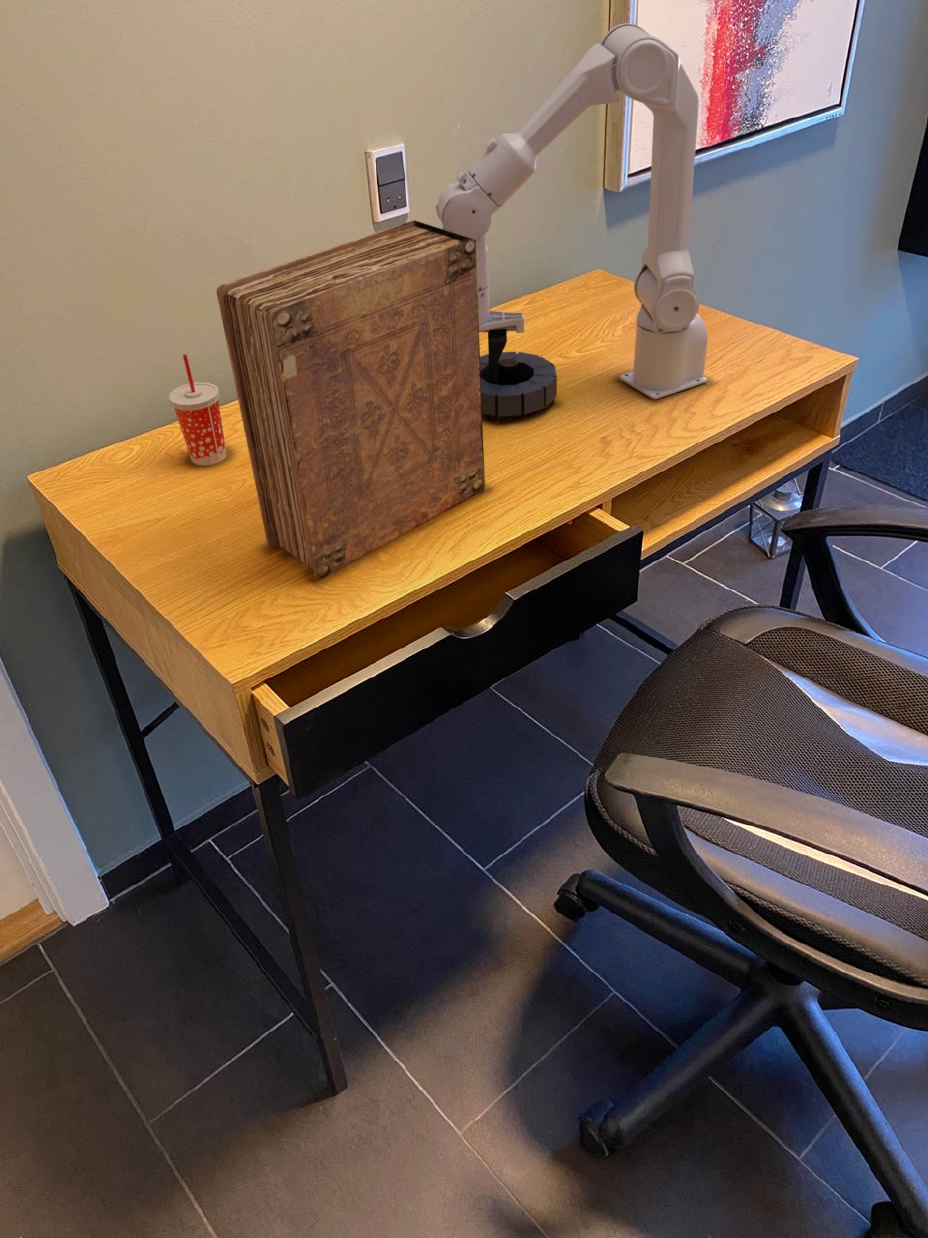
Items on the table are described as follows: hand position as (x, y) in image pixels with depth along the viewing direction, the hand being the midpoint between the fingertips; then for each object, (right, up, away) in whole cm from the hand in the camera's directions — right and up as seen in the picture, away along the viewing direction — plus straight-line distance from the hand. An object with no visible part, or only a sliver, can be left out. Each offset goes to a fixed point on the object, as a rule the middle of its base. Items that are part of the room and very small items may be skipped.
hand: (471, 383), depth 136 cm
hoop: (+5, -1, +1) cm, 5 cm away
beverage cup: (-34, -11, -6) cm, 36 cm away
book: (-11, -20, -19) cm, 30 cm away
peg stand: (+5, -2, +2) cm, 6 cm away
